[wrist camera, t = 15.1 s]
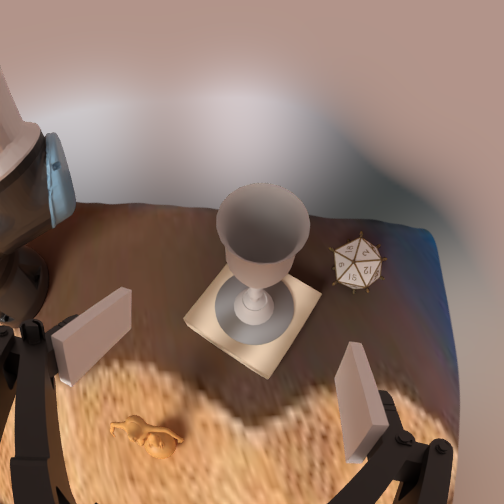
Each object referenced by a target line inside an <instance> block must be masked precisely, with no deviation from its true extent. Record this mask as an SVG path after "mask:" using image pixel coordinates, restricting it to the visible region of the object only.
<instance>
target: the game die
mask: <svg viewBox="0 0 504 504" xmlns="http://www.w3.org/2000/svg"><path fill="white" fill-rule="evenodd" d="M359 234H360V237H359V238H357V239H355V240H353V241H351V242H350V239H347V242H348V243H347V244H345V245H343V246H341V247H339V248H337V249H335V250H334V249H333V248H332V247H331V248H329V249H330V251H333V252H334V261H335V266H334V267H333V268H332V269H333V270H335V271H336V281H334V282H333V285H336V284H337V283H338V282H339V283H341V284H343V285H345V286H348V287H350V288H352V289H353V290H352V292H353V294H354V293H356V292H355V291H356V290H355V289H362V288H366V292H368V293H369V288H368V287H369V286H370V285H371V284H372V283H374V282H375V281H376V280H377V279H379V278H380V279H381V280H385V279H384V277H382V276H381V267H382V261H386V260H387V258H385V257H383V258H381V256H380V253H379V251H378V248H379V247H380V245H381V244H380V245H377V246H376V247H375V246H374V245H373V244H371V243H370V242H368V241H367V240H365V239H364V238H362V236H363V233H362V231H361V232H360V233H359Z"/></svg>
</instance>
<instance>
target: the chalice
mask: <svg viewBox="0 0 504 504" xmlns="http://www.w3.org/2000/svg"><path fill="white" fill-rule="evenodd" d="M216 228H217V231H218V234H219V237H220V240H221V242H222V243H223V244H224V245H225V251H226V261H227V264H228V266H229V269H230V271H231V272H232V273H233V274H234V276H235V277H236V278H237V279H238V280H239V281H240V282H242V283H243V284H245V285H246V286H248V287H249V288H247V289H245V290H243V291H242V292H240V293H239V294H238V296H237V297H236V299H235V302H234V311H235V313H236V316H237V317H238V318H239V319H240V320H241V321H242V322H244V323H246V324H249V325H260V324H262V323H265V322H266V321H267V320H268V319H270V317H271V315H272V314H273V310H274V302H273V300H272V298H271V296H270V295H269V294H268V293H267V292H266V291H265V290H263V288H267V287H270V286H272V285H274V284H276V283H278V282H279V281H280V280H282V279H283V278H284V277H285V276H286V275H287V274H288V272H289V270H290V269H291V267H292V264H293V261H294V258H295V255H296V253H297V252H299V251H300V250H301V249H302V248H303V246H304V244H305V242H306V241H307V239H308V237H309V230H310V220H309V215H308V212H307V210H306V208H305V206H304V205H303V203H302V201H301V200H300V199H299V198H298V197H296V196H295V195H294V194H293V193H292V192H290V191H289V190H286V189H285V188H283V187H281V186H277V185H273V184H268V183H256V184H255V183H254V184H250V185H247V186H243V187H240V188H238V189H237V190H235V191H234V192H232V193H231V194H229V195H228V196H227V198H226V199H225V200H224V201H223V203H222V204H221V206H220V209H219V211H218V213H217V225H216Z"/></svg>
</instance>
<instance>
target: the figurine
mask: <svg viewBox="0 0 504 504" xmlns="http://www.w3.org/2000/svg"><path fill="white" fill-rule="evenodd" d="M110 425H111V428H110V432H111V434H112V435H113V436H114V437H115V435H114V433H113V432H114V430H115V427H117V428H122V429H124V430H125V431H126V432H127V433H128V438H129V440H130V441H132V442H136V441H138V444H139V445H140V446H143V445H144V446H145V449H146V451H147V452H148V453H149V454H150V455H151V456H153V457H155V458H159V459H164V458H168V457H170V456H171V455H172V454H173V453H174V451H175V449H176V443H175V440H174V438H176V439H178V443H179V442H180V443H181V444H182V442H183V440H184V439H183V438H181V437H179V436H178V435H177V434H175V433H174V432H172V431H171V430H170V429H169V428H166V427H160V426H152V425H149V424H147V423H146V422H145V421H144V420H143V419H142V418H141V417H140V416H137V415H132V416H129V417H128V418H127V420H126V421H125V422H112V423H111V424H110ZM173 437H174V438H173Z"/></svg>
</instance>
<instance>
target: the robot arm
mask: <svg viewBox="0 0 504 504" xmlns="http://www.w3.org/2000/svg"><path fill="white" fill-rule="evenodd" d="M75 207H76V199H75V193H74V188H73V184H72V180H71V176H70V172H69V169H68V165H67V161H66V157H65V154H64V151H63V148H62V145H61V142H60V139H59V138H58V135H57V134H56V133H48V134H46V136H45V137H44V136H43V134H42V132H41V129H40V128H39V126H38V125H37V124H36V123H32V122H25V121H23V120H22V118H21V116H20V114H19V111H18V109H17V107H16V105H15V102H14V100H13V98H12V95H11V93H10V90H9V88H8V86H7V83H6V80H5V78H4V76H3V73H2V70H1V67H0V323H1V324H3V325H2V326H0V442H1V438H2V435H3V431H4V428H5V425H6V422H7V418H8V415H9V412H10V409H11V406H12V404H13V401H14V398H15V395H16V401H15V457H11V459H10V471H11V482H12V491H13V498H14V504H76V502H75V499H74V497H73V495H72V492H71V489H70V485H69V481H68V477H67V472H66V467H65V462H64V457H63V451H62V445H61V438H60V431H59V422H58V413H57V401H56V385H55V378H54V375H56V374H57V373H59V377H60V381H62V382H64V383H65V384H67V385H69V386H71V387H72V386H73V385H74V384H75V383H76V382H77V381H78V380H79V379H80V378H81V377H82V376H83V375H84V374H85V373H86V372H87V371H88V370H89V369H90V368H91V367H92V366H93V365H94V364H95V363H96V362H97V361H98V360H99V359H100V358H101V357H102V356H103V355H104V354H105V353H106V352H107V351H108V350H109V349H111V348H112V347H113V346H114V345H115V344H116V343H117V342H118V341H119V340H120V339H121V338H122V337H123V336H124V335H125V334H126V333H127V332H128V331H129V330H130V329H131V294H132V290H130V289H126V288H123V287H120V288H119V289H117V290H116V291H114V292H113V293H111V294H110V295H108V296H107V297H106V298H104V299H103V300H101V301H100V302H98V303H97V304H95V305H94V306H92V307H91V308H89V309H88V310H87V311H85V312H84V313H82V314H81V315H77V314H76V315H73V316H70V317H68V318H66V319H65V320H63V321H62V322H60V323H59V324H58V325H56V326H55V327H53V328H52V329H50V330H49V331H47V332H46V333H45V332H44V326H43V323H42V322H41V321H39V320H36V319H33V318H34V317H35V315H36V314H37V313H38V311H39V310H40V308H41V306H42V304H43V302H44V300H45V297H46V294H47V290H48V283H49V273H48V268H47V265H46V262H45V261H44V259H43V258H42V257H41V256H40V255H39V254H38V253H37V252H36V251H35V250H33V249H32V248H30V247H27V246H25V244H27V243H28V242H30V241H32V240H33V239H35V238H36V237H38V236H40V235H41V234H43V233H45V232H46V231H48V230H50V229H52V228H53V229H54V228H55V227H56V225H57V224H59V223H60V222H62V221H63V220H65V219H67V218H68V217H70V216H71V215H72V214H73V212H74V210H75ZM19 327H20V332H21V336H22V338H20V337H16V336H14V332H13V329H12V328H19ZM335 385H336V391H337V397H338V404H339V411H340V418H341V425H342V433H343V441H344V449H345V458H346V463H362V462H363V461H364V459H365V458H366V457H367V458H368V462H367V463H366V464H365V465H364V466H363V468H362V469H361V470H360V471H359V472H358V473H357V474H356V475H355V476H354V477H353V479H352V480H351V481H350V482H349V483H348V484H347V485H346V486H345V487H344V488H343V489H342V490H341V491H340V492H339V493H338V494H337V495H336V496H335V497H334V498H333V499H332V500H331V501H330V502H329V503H327V504H375V503H376V501H377V500H378V499H379V498H380V496H381V495H382V494H383V492H384V491H385V490H386V488H387V487H388V486H389V484H390V483H391V481H392V480H396V481H400V483H399V487H398V490H397V493H396V495H395V498H394V501H393V504H447V499H448V493H449V486H450V479H451V471H452V461H453V447H452V446H451V444H450V443H449V442H448V441H446V440H444V439H439V438H438V439H434V440H433V441H432V442H431V443H430V444H429V445H427V444H423V443H418V442H415V438H414V437H413V435H412V434H411V433H409V432H408V431H405V430H403V427H402V424H401V421H400V418H399V415H398V412H397V411H396V407H395V406H394V405H395V404H394V401H393V399H392V397H391V396H390V394H389V393H388V392H387V391H383V390H378V389H377V386H376V383H375V380H374V377H373V374H372V371H371V368H370V365H369V363H368V360H367V357H366V354H365V351H364V349H363V346H362V343H356V342H349V344H348V347H347V349H346V352H345V354H344V357H343V359H342V362H341V364H340V367H339V369H338V371H337V374H336V376H335ZM95 504H98V503H95Z"/></svg>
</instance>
